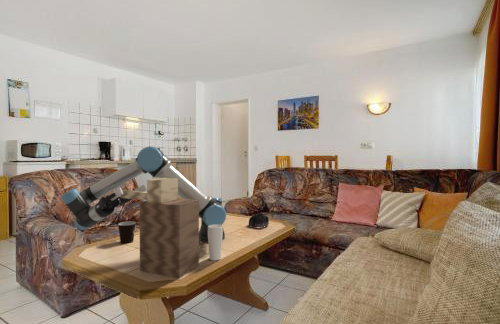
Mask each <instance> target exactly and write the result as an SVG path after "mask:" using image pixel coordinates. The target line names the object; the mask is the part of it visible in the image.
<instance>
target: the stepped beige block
mask: <svg viewBox="0 0 500 324" xmlns="http://www.w3.org/2000/svg"><path fill="white" fill-rule="evenodd" d="M146 186H147V187H146V191H144V192H142V191H134V190H122V191H123V194H122V195H120V197H121V198H127V199H133V200H139V201H141V200H142V201H147V202H154V203H164V202H168V201H172V200H176V199H179V195H178V178H152V179H146Z"/></svg>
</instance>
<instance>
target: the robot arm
mask: <svg viewBox="0 0 500 324" xmlns="http://www.w3.org/2000/svg"><path fill="white" fill-rule="evenodd" d="M147 173H148V174H149V175H150V176H152V177H153V179H159V178H178V197H180V198H181V199H192V200H199V218H200V222H201V223H200V224H201V225H200V227H199V242H200V241H202V242H204V243H205V242H207V243H208V226H209V225H214V224H218V225H222V226H223V224H224V222H225V221H226V218H227V212H226V209H225V207H224V206H223V199H222V198H221V197H212V196H211V195H210V196H209V195H208V196H207V195H205V194H204V193H203V192H202V191H201V190H200V189H199V188H198V187H197V186H196V185H194V184H193V182H191V181H189V180H188V178H186V177H185V176H184V175H183V174H182V173H181V172H180V171H178V170H177V169H176V168H175V167H174V166H173V165H172V161H171V159H169V158H168V157H167V156H166V155H165V154H164V152H163V151H162V150H161V149H160V148H157V147H155V146H145V147H144V148H142V149H140V151H138V154H137V157H135V159H134V161H132V162H131V163H129V164H127V165H126V166H124V167H122V168H120V169H119V170H117V171H115V172H113V173H112V174H109V175H108V176H106V177H104V178H103V179H100V180H99V181H98V182H95V183H94V184H92V185H90V186H88V187H87V188H85V189H83V190H81V191H80V190H79V189H78V188H76V187H75V188H72V189H70V190H68V191H66V192H65V193H64V194H61V196H60V199H61V201H62V202H63V203H64V205H65V206H66V207H67V208H68V210H69V211H70V212H71V213H72V214H73V215H74V217H75V219H74V226H75V227H76V228H77V229H78V230H82V231H85V230H87V229H90V228H92V227H93V226H95V225H96V224H97V223H100V222H103V219H105V218H107V217H109V216H110V215H111V214H113V213H114V212H115V209H116V208H117V207H119V206H123V205H125V204H126V203H128V202H130V201H132V200H134V199H127V198H121V195H122V194H123V191H124V190H122V186H123V185H125V184H126V183H128V182H130V181H131V180H133V179H135V178H137V177H138V176H140V175H142V174H147ZM133 191H142V192H146V191H147V187H146V186H145V185H144V184H142V185H140V186H139V187H137V188H136V189H133ZM111 192H112V193H111ZM109 193H110V194H109ZM107 194H109V195H107ZM97 200H98V202H97V203H95V204H94V205H92V206H91V204H92V203H94V202H95V201H97ZM225 238H226V233H225V230H224V229H223V237H222V241H223V240H225Z"/></svg>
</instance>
